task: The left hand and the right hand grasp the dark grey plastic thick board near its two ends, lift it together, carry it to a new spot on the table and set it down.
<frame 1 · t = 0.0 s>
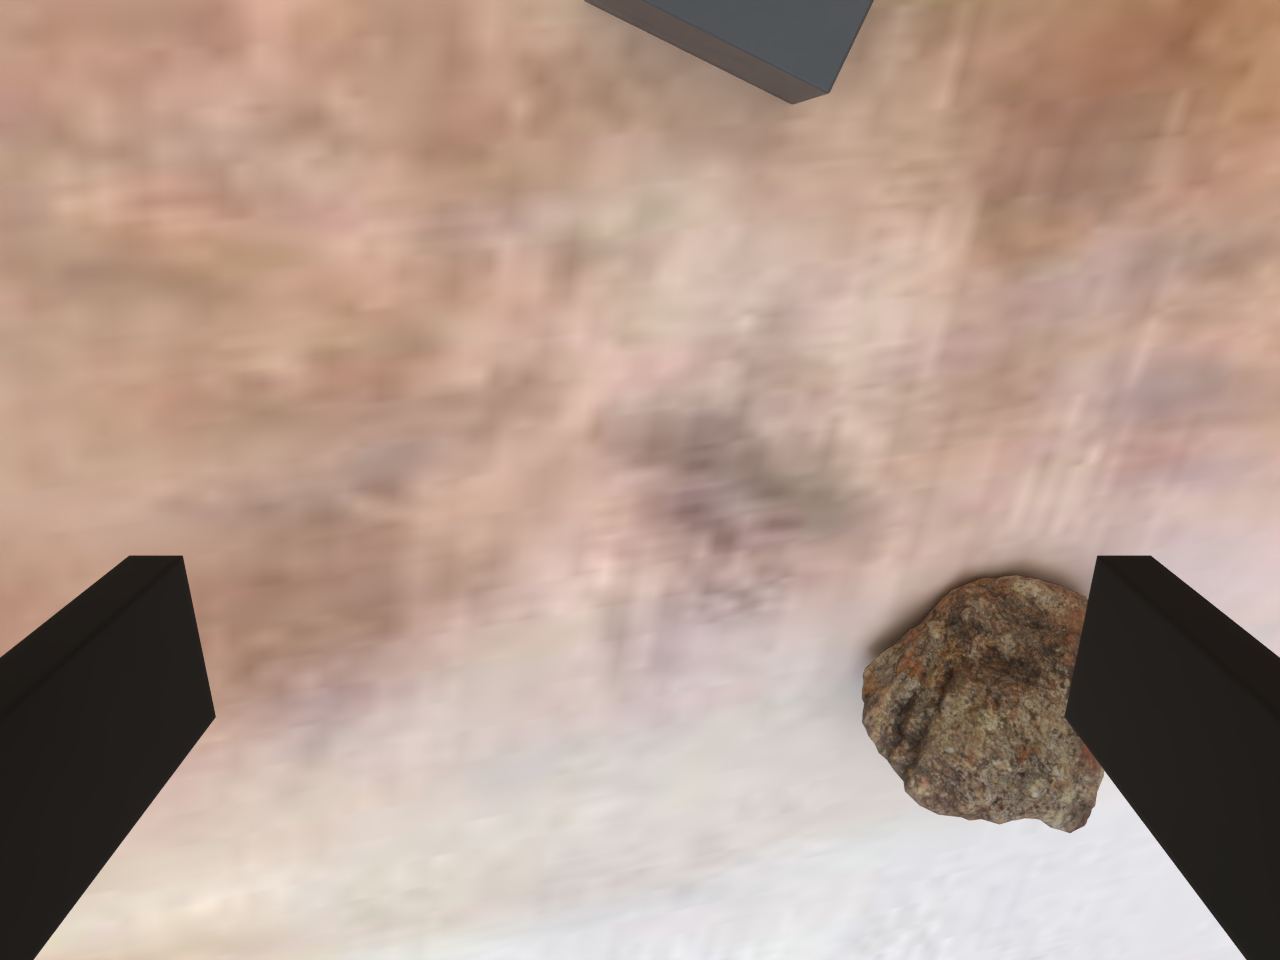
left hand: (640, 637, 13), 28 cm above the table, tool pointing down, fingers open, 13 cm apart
rock: (999, 655, 45), on the table
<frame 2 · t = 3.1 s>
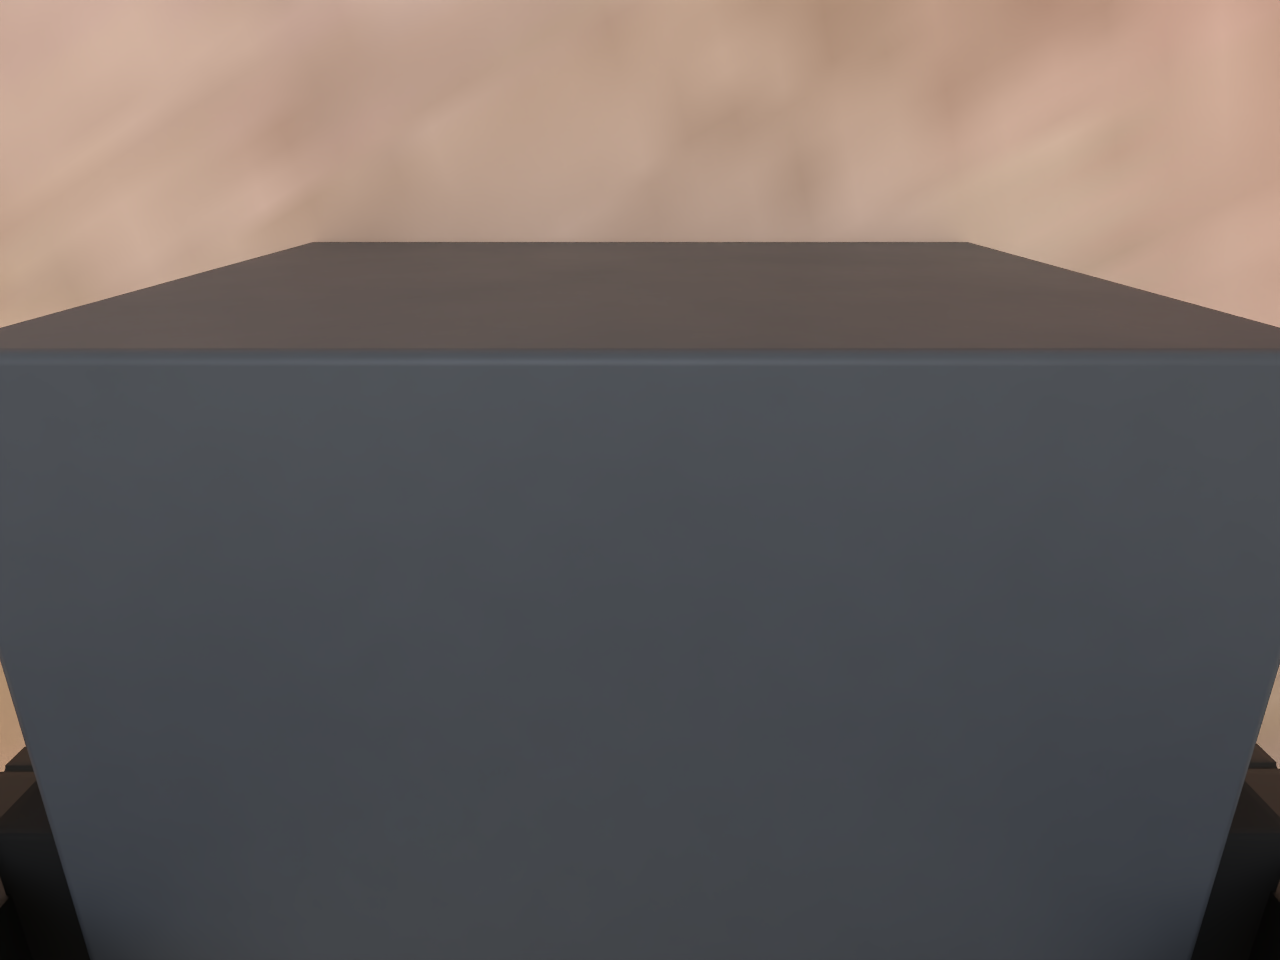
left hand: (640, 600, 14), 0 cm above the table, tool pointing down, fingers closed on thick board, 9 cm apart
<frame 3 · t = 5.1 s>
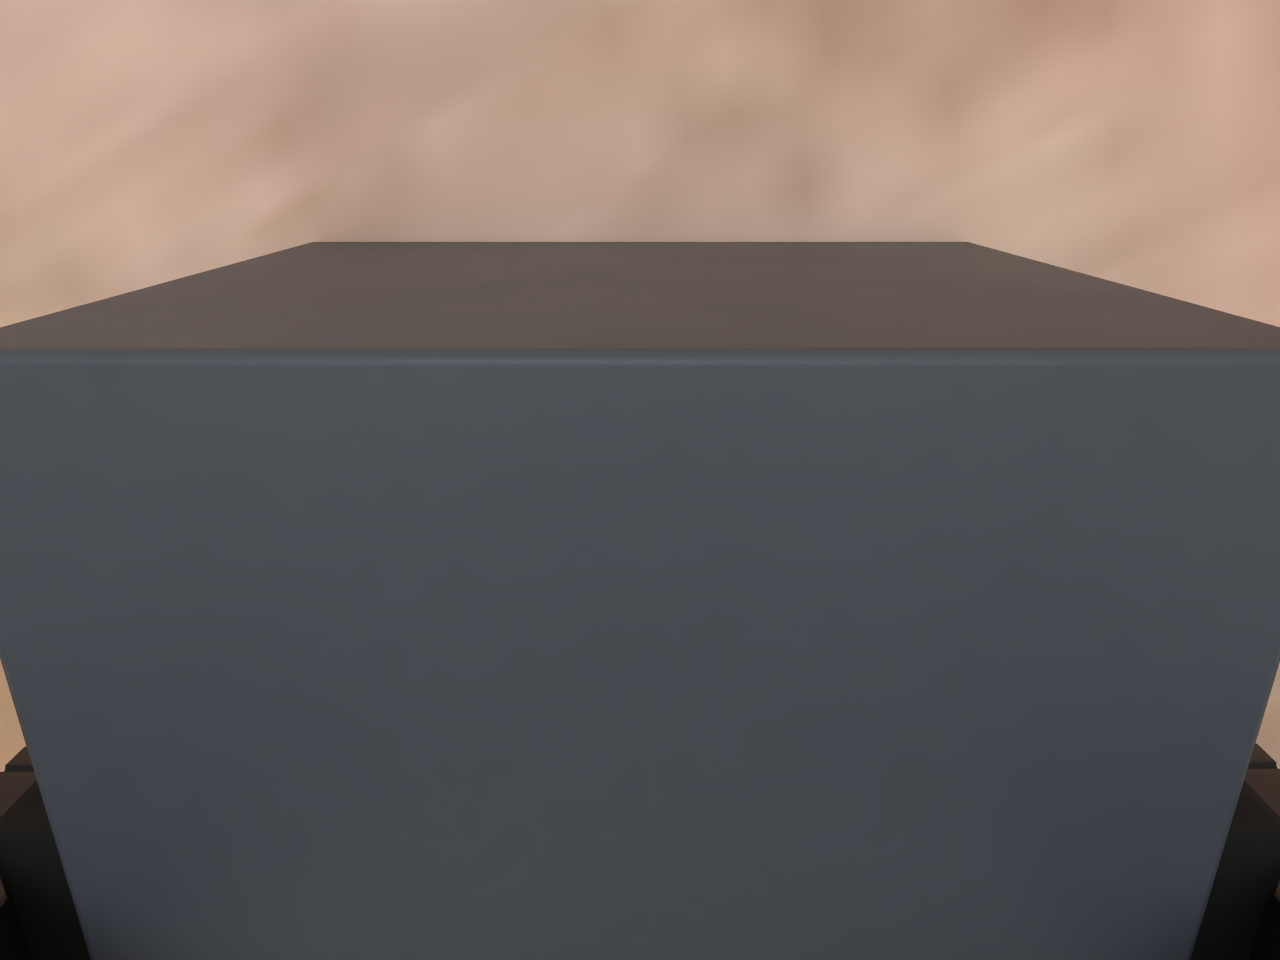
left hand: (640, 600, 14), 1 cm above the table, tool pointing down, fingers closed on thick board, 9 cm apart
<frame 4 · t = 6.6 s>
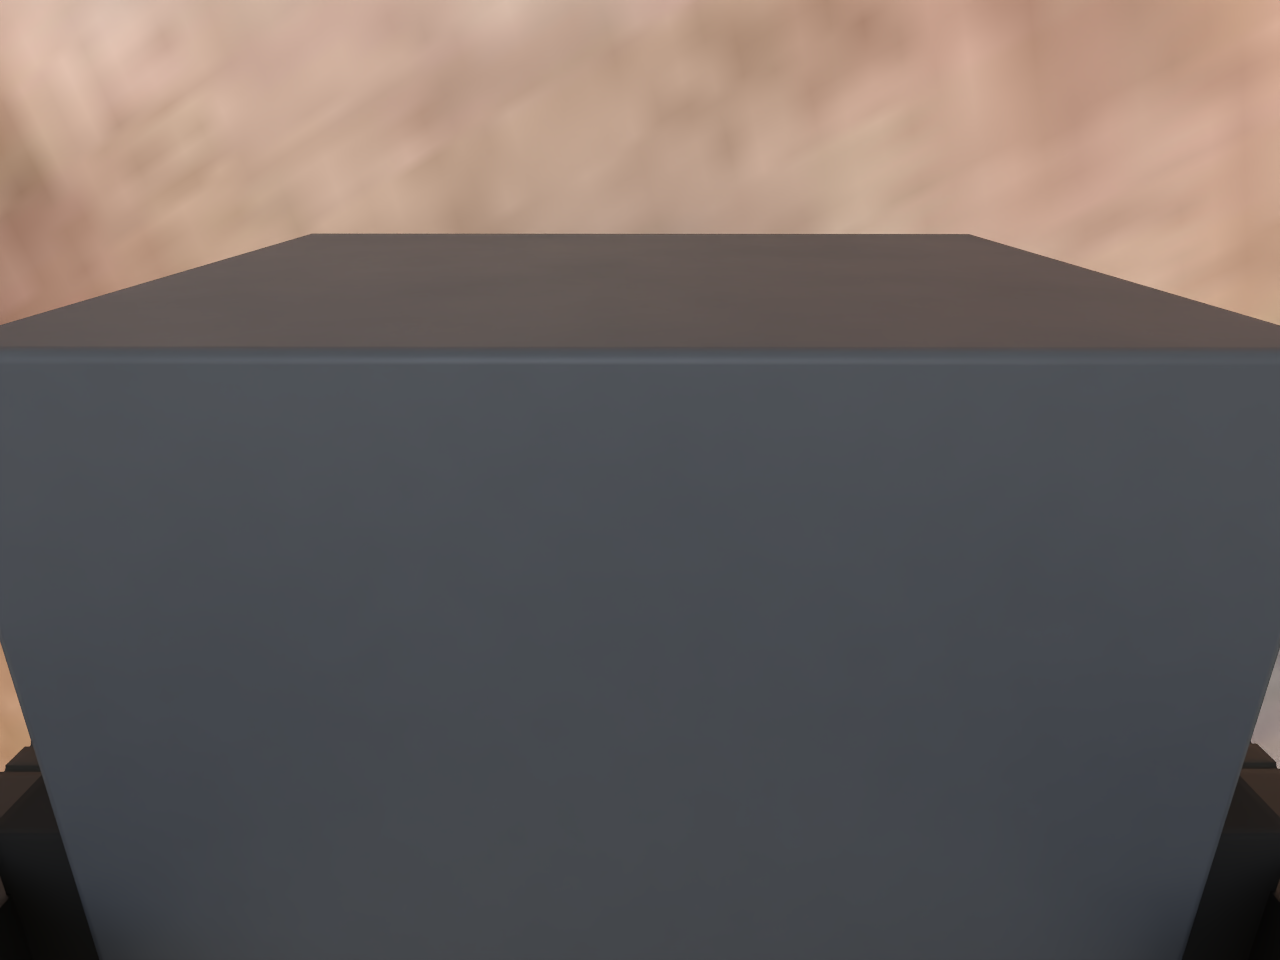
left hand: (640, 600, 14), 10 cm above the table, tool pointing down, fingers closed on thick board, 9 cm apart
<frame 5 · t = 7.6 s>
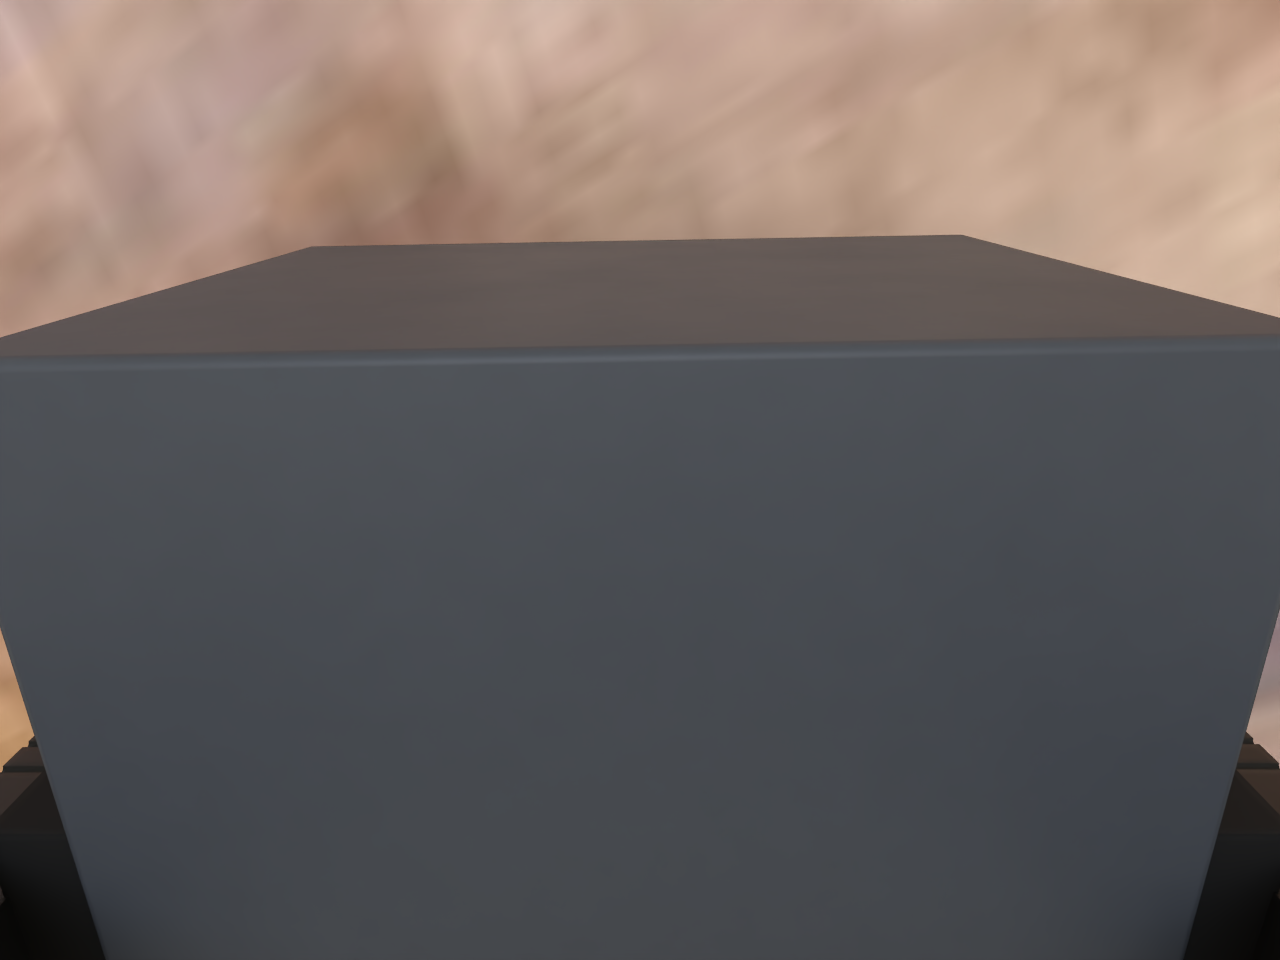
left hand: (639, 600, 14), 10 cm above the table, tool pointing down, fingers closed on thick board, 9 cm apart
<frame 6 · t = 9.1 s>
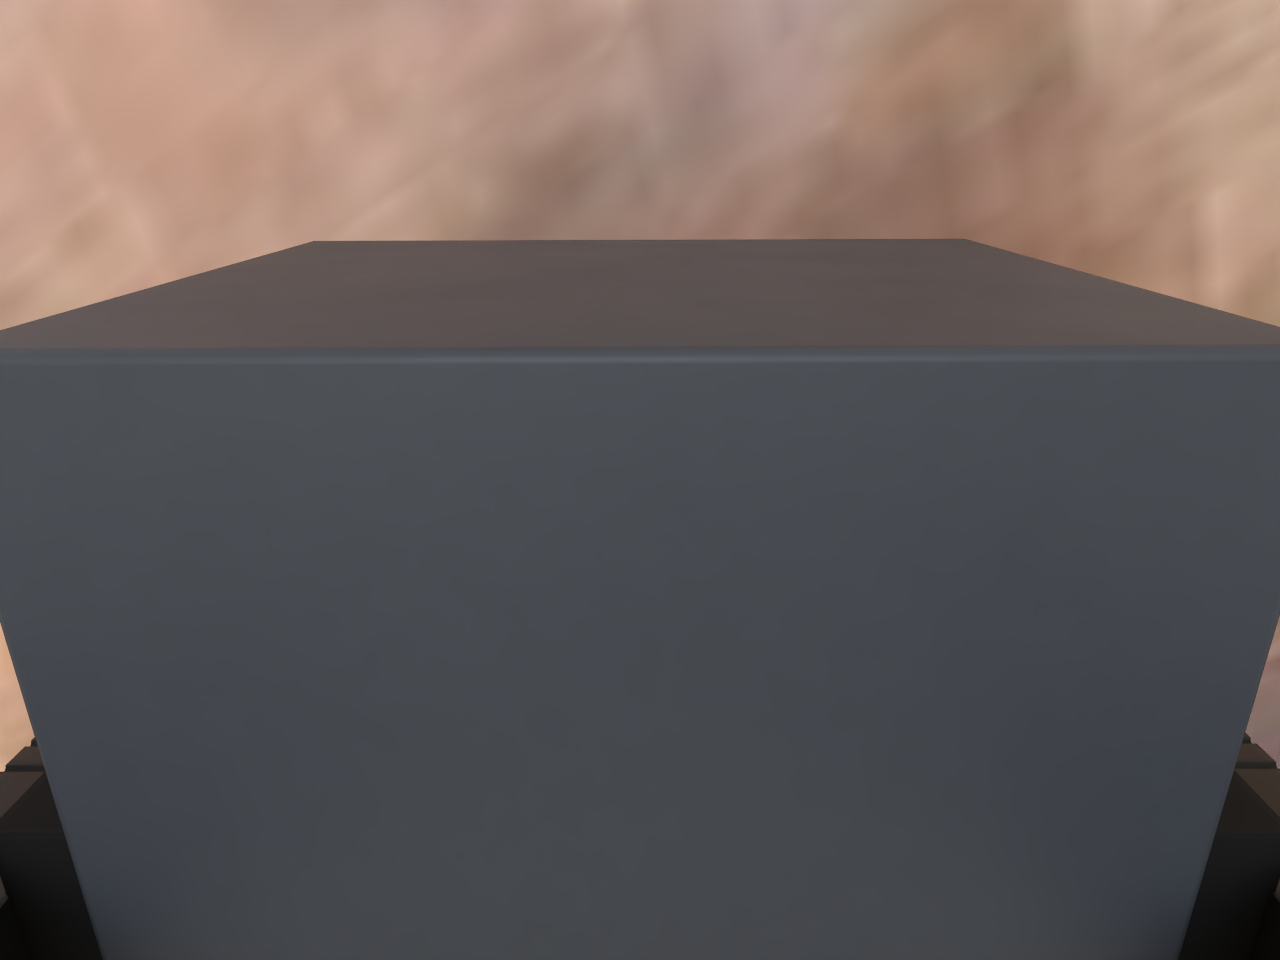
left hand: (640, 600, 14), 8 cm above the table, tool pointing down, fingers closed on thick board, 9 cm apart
when the left hand's fingers open (2 cm above the table, at t = 10.3 s): thick board drops 1 cm, on the table.
when the right hand's fingers open (2 cm above the table, at t = 10.3 s): thick board drops 1 cm, on the table.
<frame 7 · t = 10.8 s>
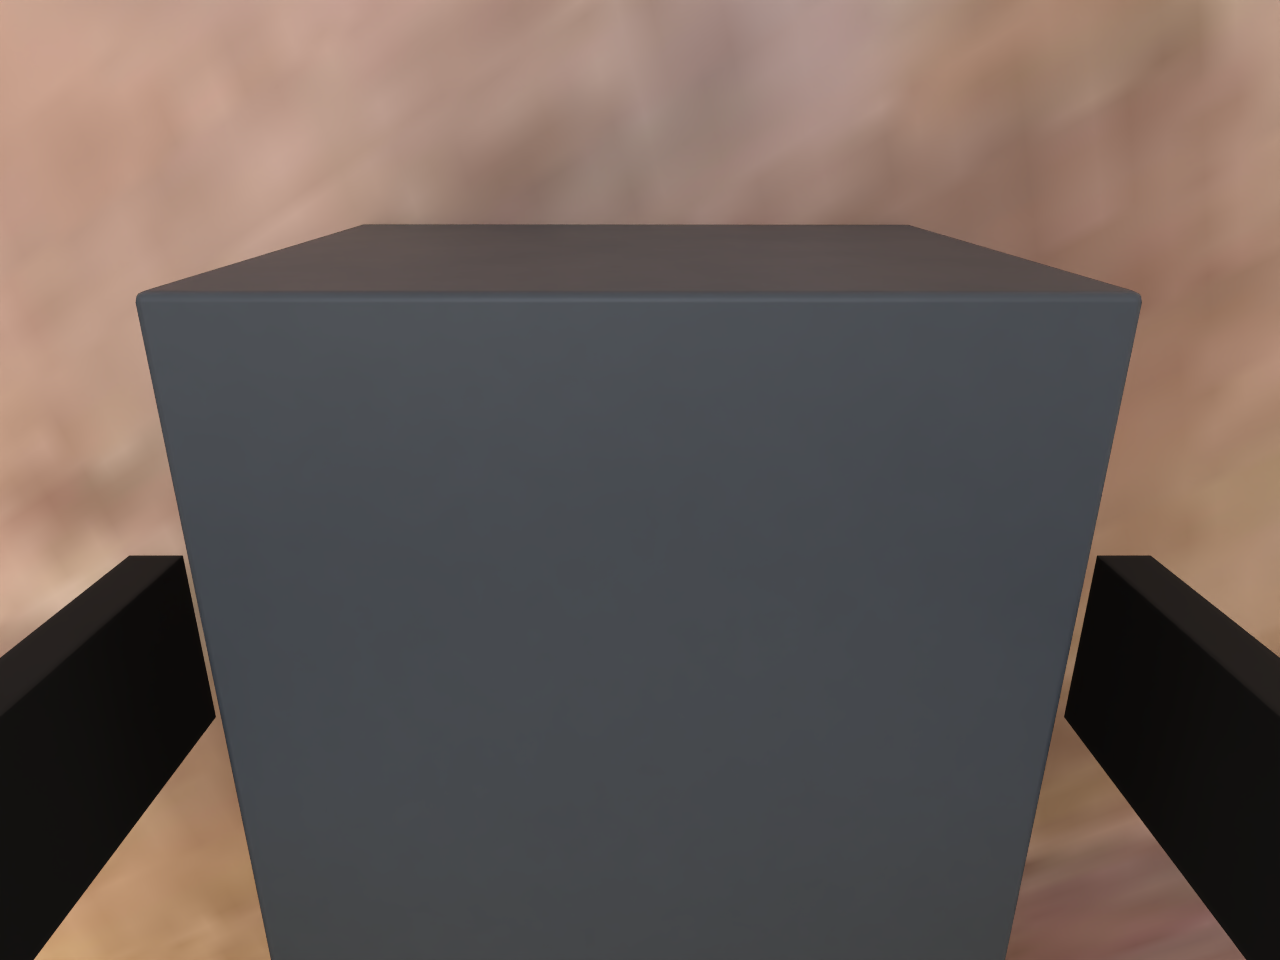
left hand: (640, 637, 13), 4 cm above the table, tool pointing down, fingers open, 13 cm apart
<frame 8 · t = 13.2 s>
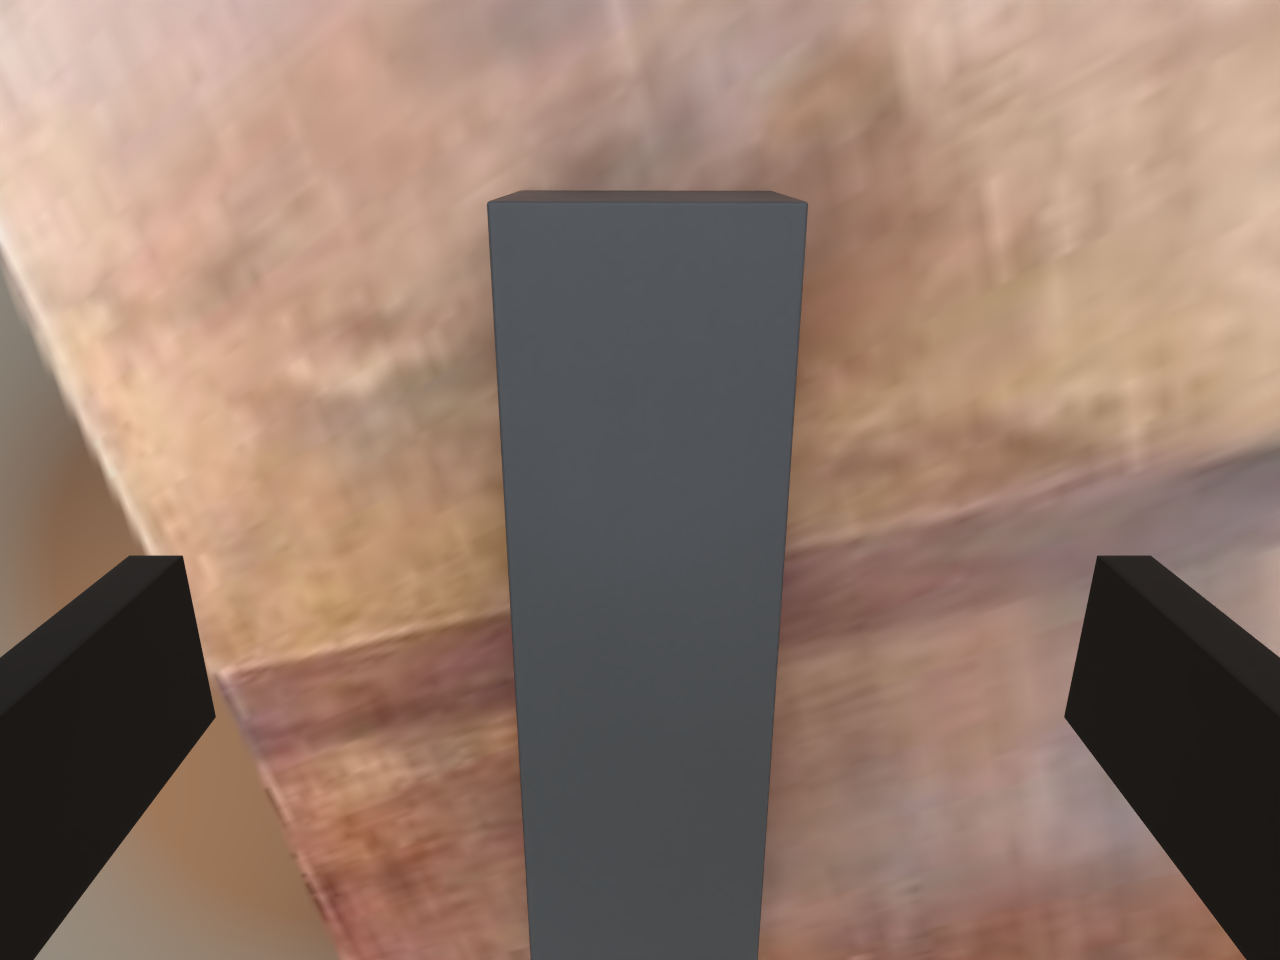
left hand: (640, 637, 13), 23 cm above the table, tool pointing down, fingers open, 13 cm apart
thick board: (643, 883, 44), on the table
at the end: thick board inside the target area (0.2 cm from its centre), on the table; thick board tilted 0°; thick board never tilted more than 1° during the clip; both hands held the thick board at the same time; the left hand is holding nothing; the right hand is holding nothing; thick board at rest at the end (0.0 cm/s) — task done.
